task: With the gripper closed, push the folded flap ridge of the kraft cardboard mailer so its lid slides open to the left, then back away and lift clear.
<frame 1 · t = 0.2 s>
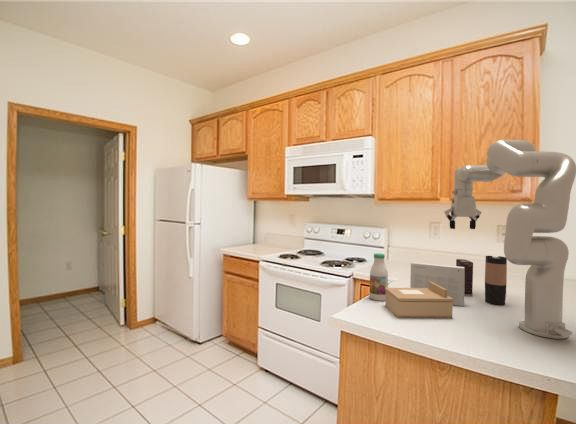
hand: (462, 228, 142), 31 cm above the table, tool pointing down, fingers open, 9 cm apart
skincare box: (436, 301, 130), on the table
milk bottle: (378, 299, 132), on the table
supplement box: (463, 294, 141), on the table
travel mug: (494, 303, 127), on the table
lid: (417, 290, 116), point 8 cm above the table, slide at 0.0 cm
mailer box: (416, 311, 116), on the table
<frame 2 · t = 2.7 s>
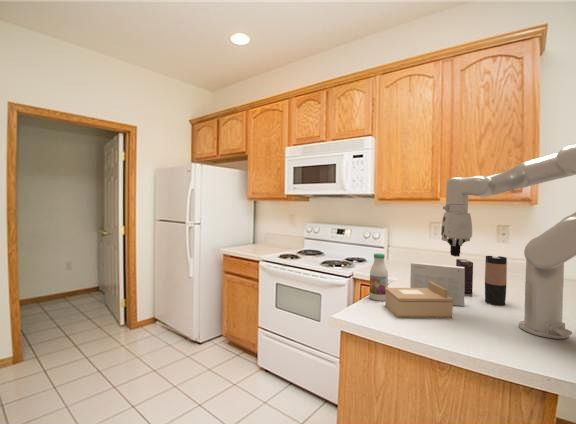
hand: (455, 255, 116), 22 cm above the table, tool pointing down, fingers closed
nothing on the table moved.
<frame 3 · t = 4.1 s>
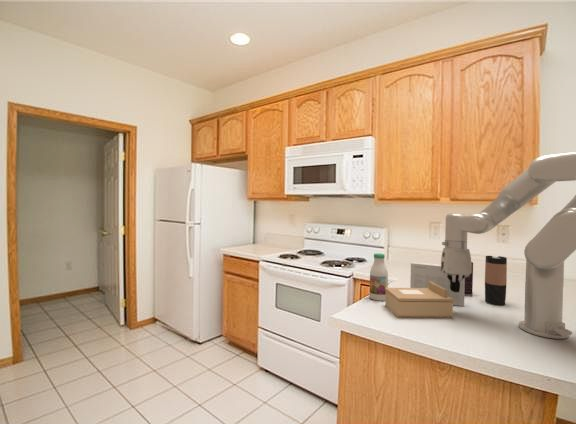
hand: (454, 291, 116), 8 cm above the table, tool pointing down, fingers closed
nothing on the table moved.
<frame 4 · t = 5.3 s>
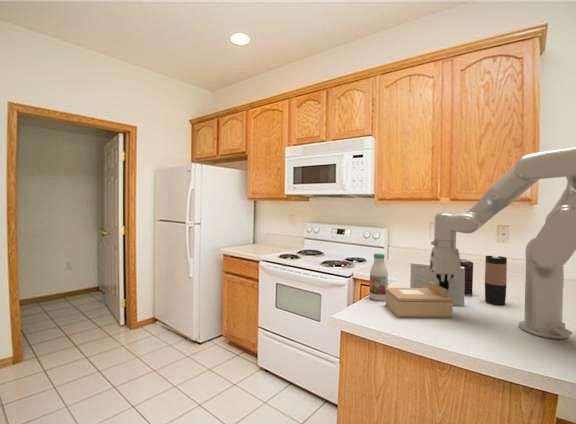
hand: (443, 290, 116), 8 cm above the table, tool pointing down, fingers closed
lid: (417, 290, 116), point 8 cm above the table, slide at 0.0 cm, touching gripper
everything else where it was.
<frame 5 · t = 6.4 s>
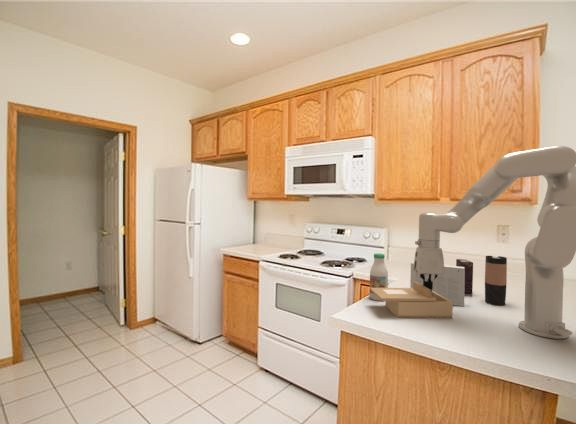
hand: (427, 290, 116), 8 cm above the table, tool pointing down, fingers closed
lid: (401, 290, 115), point 8 cm above the table, slide at 6.4 cm, touching gripper
everything else where it was.
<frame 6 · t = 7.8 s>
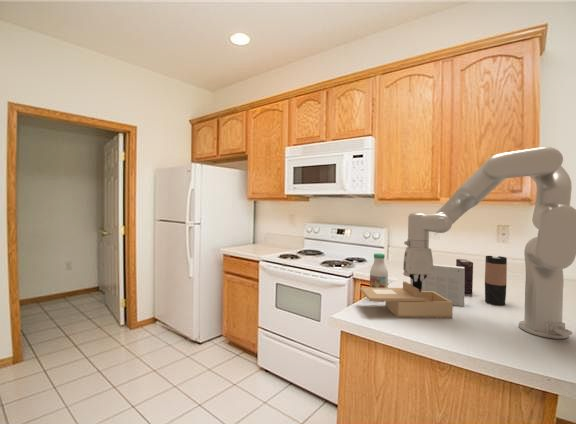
hand: (417, 290, 116), 8 cm above the table, tool pointing down, fingers closed
lid: (390, 290, 115), point 8 cm above the table, slide at 10.6 cm, touching gripper
everything else where it was.
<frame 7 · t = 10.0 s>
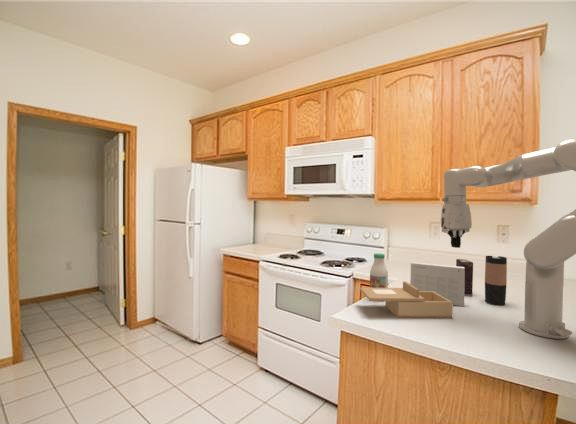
hand: (455, 247, 116), 25 cm above the table, tool pointing down, fingers closed
lid: (390, 290, 115), point 8 cm above the table, slide at 10.6 cm
everything else where it was.
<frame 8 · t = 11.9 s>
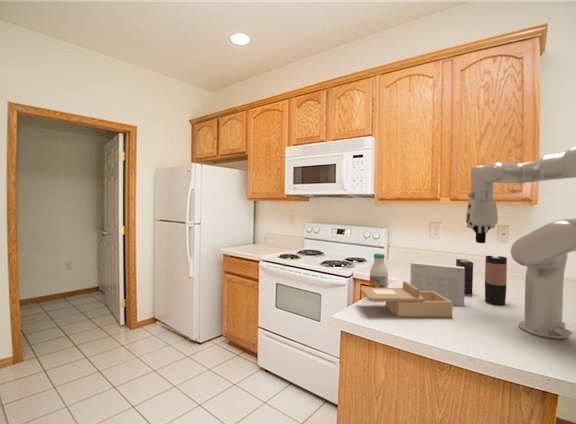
hand: (480, 242, 118), 27 cm above the table, tool pointing down, fingers closed
nothing on the table moved.
at the end: lid slide at 10.6 cm; lid touching nothing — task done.
